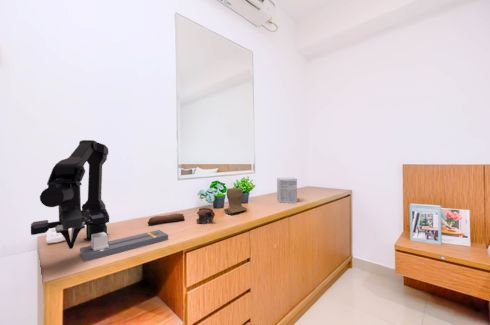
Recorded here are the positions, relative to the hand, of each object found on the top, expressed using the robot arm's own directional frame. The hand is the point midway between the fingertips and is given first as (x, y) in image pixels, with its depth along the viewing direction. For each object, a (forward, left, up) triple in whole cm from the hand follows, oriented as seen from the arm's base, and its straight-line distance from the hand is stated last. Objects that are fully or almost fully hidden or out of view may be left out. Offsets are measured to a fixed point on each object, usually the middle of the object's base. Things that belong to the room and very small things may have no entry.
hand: (71, 248), depth 74 cm
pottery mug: (+38, +43, -4) cm, 57 cm away
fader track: (+13, +11, -4) cm, 17 cm away
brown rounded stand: (+52, +63, -4) cm, 82 cm away
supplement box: (+91, +95, -4) cm, 132 cm away
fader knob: (+6, +5, -2) cm, 8 cm away
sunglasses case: (+16, +45, -5) cm, 48 cm away
